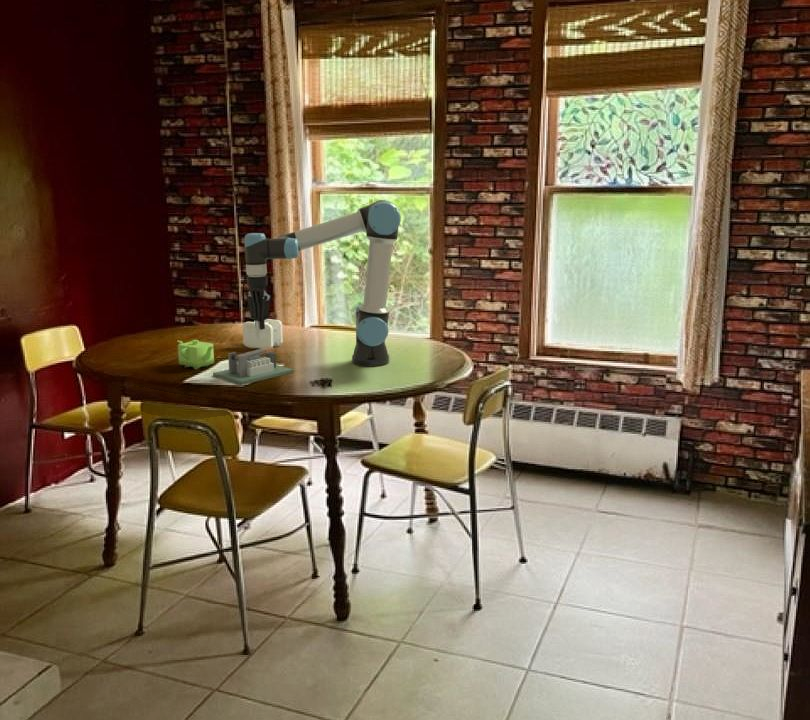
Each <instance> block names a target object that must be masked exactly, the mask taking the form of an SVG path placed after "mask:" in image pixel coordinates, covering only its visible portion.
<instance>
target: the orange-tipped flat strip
mask: <svg viewBox="0 0 810 720" xmlns="http://www.w3.org/2000/svg"><path fill="white" fill-rule="evenodd" d="M275 350H276V349H275V347H265V348H261V349H260V348H257V349H255V350H251V351H247V352H244V353H240V354H236V355H232V359H233V360H237V361H239V358H238V356H242V355H246V356H247V359H248V358H251V357H255V356H263V355H266V353H269V352H272V353H274V352H275Z"/></svg>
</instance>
